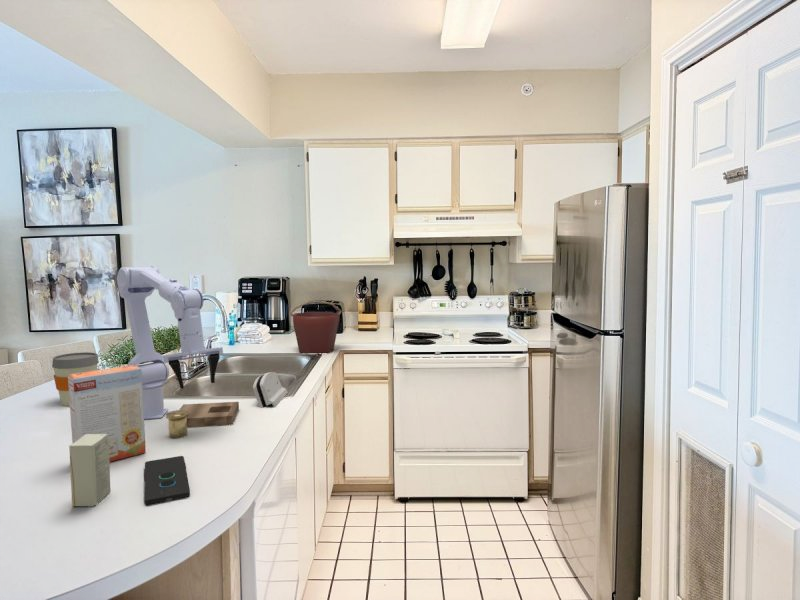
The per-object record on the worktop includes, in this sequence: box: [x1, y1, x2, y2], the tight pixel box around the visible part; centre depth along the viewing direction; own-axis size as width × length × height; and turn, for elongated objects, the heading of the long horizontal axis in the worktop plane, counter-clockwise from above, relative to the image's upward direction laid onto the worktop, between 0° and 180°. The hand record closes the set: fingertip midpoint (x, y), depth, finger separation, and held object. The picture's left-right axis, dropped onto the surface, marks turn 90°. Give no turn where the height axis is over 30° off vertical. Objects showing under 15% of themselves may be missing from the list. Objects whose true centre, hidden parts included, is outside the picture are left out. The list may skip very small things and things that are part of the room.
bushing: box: [165, 409, 189, 439], centre depth 131 cm, size 5×5×6 cm
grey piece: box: [252, 371, 289, 408], centre depth 164 cm, size 17×5×10 cm, turn 178°
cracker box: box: [68, 365, 147, 463], centre depth 116 cm, size 14×6×21 cm, turn 134°
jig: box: [178, 401, 240, 428], centre depth 145 cm, size 16×14×2 cm
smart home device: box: [143, 455, 191, 507], centre depth 105 cm, size 8×2×20 cm
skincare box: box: [68, 434, 112, 507], centre depth 96 cm, size 6×4×12 cm
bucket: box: [290, 300, 343, 354], centre depth 246 cm, size 24×22×25 cm
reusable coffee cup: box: [51, 351, 99, 407], centre depth 161 cm, size 13×12×15 cm
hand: (197, 385), depth 133 cm, fingers open, 7 cm apart
